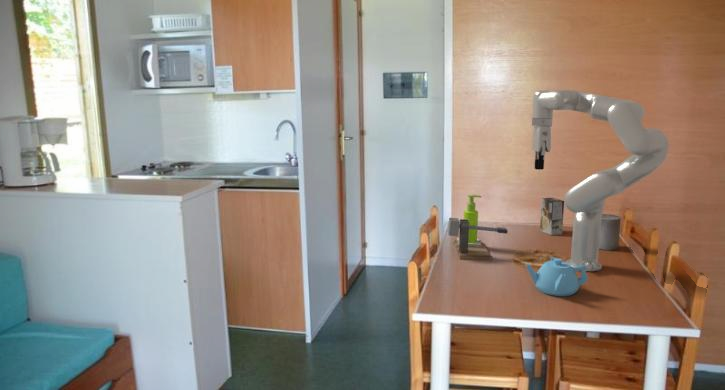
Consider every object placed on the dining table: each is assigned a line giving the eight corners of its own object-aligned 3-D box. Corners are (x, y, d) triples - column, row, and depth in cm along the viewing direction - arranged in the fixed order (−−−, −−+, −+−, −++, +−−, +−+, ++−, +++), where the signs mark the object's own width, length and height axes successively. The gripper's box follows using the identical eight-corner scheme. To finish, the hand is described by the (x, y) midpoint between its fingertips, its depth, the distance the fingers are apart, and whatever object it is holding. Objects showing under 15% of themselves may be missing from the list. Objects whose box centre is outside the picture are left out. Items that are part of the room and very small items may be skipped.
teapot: (560, 302, 169) (563, 269, 167) (522, 288, 182) (524, 257, 179) (589, 292, 178) (592, 261, 176) (551, 279, 190) (553, 250, 188)
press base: (490, 259, 212) (492, 224, 209) (459, 259, 213) (461, 223, 210) (480, 243, 236) (482, 210, 233) (453, 242, 236) (454, 210, 234)
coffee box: (562, 234, 251) (565, 200, 248) (551, 235, 249) (553, 201, 246) (550, 229, 259) (552, 197, 256) (539, 230, 258) (541, 197, 255)
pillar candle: (613, 244, 234) (616, 211, 231) (621, 251, 224) (624, 216, 222) (590, 244, 235) (592, 210, 232) (597, 250, 225) (600, 215, 223)
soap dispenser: (480, 243, 227) (482, 196, 223) (464, 243, 227) (466, 196, 223) (477, 239, 232) (479, 193, 229) (461, 239, 232) (463, 193, 229)
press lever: (506, 241, 212) (508, 226, 211) (448, 235, 213) (450, 220, 212) (503, 237, 218) (505, 222, 217) (447, 231, 219) (449, 217, 218)
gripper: (557, 123, 202) (554, 172, 206) (546, 121, 217) (543, 166, 221) (537, 123, 203) (534, 171, 206) (527, 121, 218) (524, 166, 221)
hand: (538, 169), depth 213 cm, fingers closed
